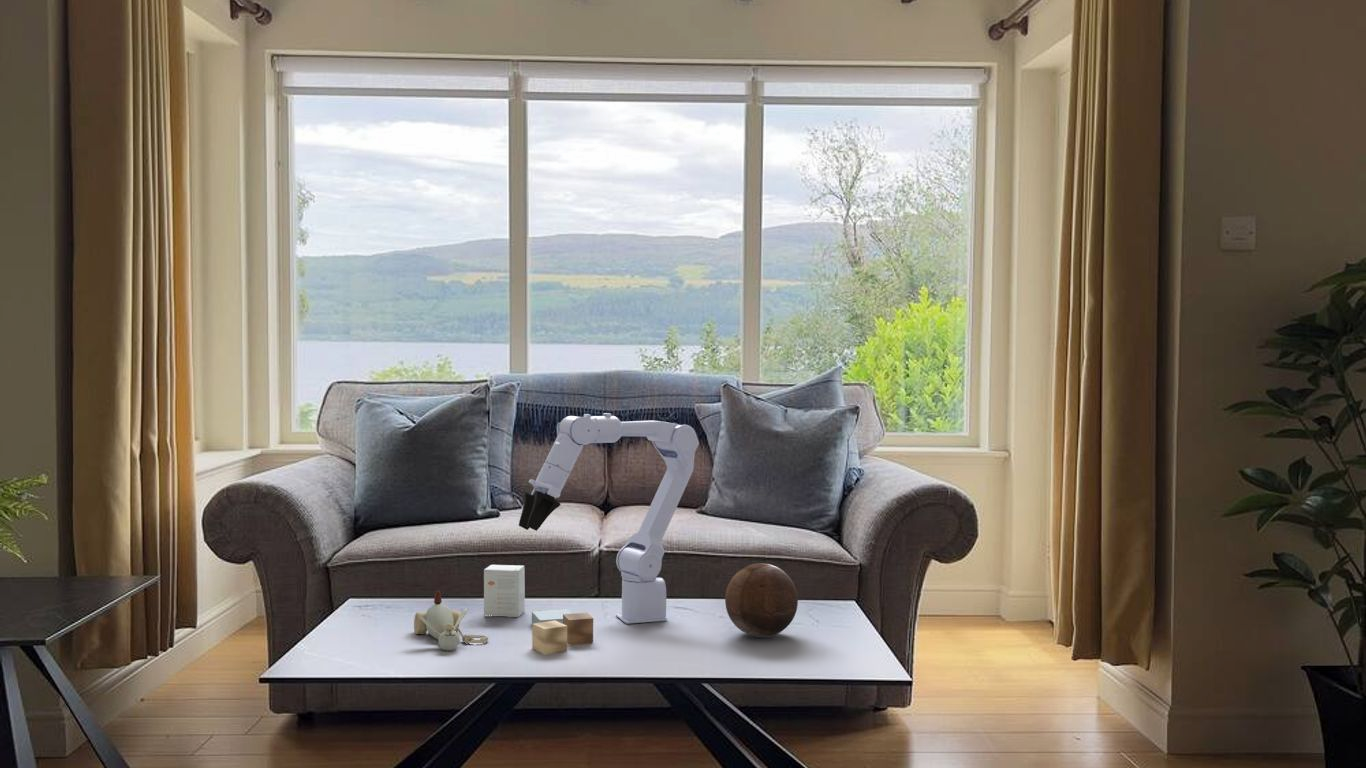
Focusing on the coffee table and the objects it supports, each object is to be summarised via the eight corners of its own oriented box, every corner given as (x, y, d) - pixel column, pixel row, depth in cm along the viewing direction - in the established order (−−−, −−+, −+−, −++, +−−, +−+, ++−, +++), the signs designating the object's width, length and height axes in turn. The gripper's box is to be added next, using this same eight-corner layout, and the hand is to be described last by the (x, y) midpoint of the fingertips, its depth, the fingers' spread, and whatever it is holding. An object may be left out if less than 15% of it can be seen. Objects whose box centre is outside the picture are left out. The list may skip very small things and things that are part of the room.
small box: (525, 611, 237) (525, 565, 237) (518, 618, 232) (519, 570, 231) (490, 610, 238) (490, 564, 238) (483, 616, 232) (483, 568, 232)
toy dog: (441, 655, 202) (442, 609, 202) (393, 636, 216) (393, 592, 216) (495, 644, 211) (496, 599, 211) (445, 626, 224) (446, 584, 224)
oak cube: (554, 645, 210) (555, 620, 210) (566, 651, 206) (567, 625, 206) (532, 649, 207) (532, 623, 207) (544, 655, 203) (544, 629, 203)
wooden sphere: (811, 636, 220) (812, 564, 219) (766, 650, 209) (767, 574, 208) (755, 623, 230) (756, 554, 230) (709, 635, 219) (710, 563, 219)
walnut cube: (586, 636, 217) (586, 612, 217) (593, 642, 212) (593, 618, 212) (562, 638, 215) (563, 614, 215) (568, 645, 211) (569, 620, 211)
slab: (568, 622, 230) (568, 609, 230) (577, 631, 222) (577, 617, 222) (531, 625, 227) (531, 611, 227) (539, 634, 219) (540, 620, 219)
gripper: (531, 461, 225) (502, 519, 221) (548, 458, 211) (518, 520, 208) (560, 476, 227) (532, 533, 223) (579, 474, 213) (549, 535, 210)
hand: (527, 528), depth 216 cm, fingers open, 7 cm apart
